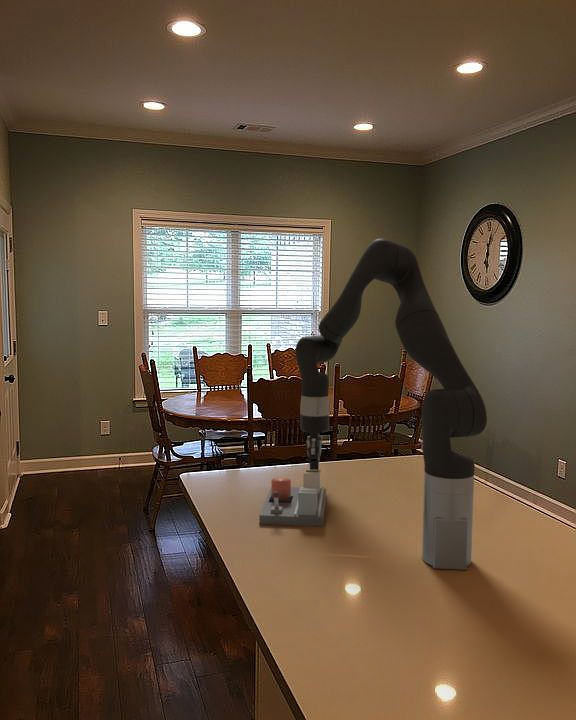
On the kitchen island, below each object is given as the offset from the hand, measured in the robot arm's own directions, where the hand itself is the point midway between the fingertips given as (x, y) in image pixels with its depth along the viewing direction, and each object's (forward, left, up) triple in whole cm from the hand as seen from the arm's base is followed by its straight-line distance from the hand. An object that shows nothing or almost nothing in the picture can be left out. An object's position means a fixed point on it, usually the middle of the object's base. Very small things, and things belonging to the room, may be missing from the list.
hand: (314, 477), depth 169 cm
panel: (-17, +4, -3) cm, 18 cm away
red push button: (-16, +7, 0) cm, 17 cm away
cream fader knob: (-9, 0, -1) cm, 9 cm away
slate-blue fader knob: (-25, 0, -1) cm, 25 cm away
